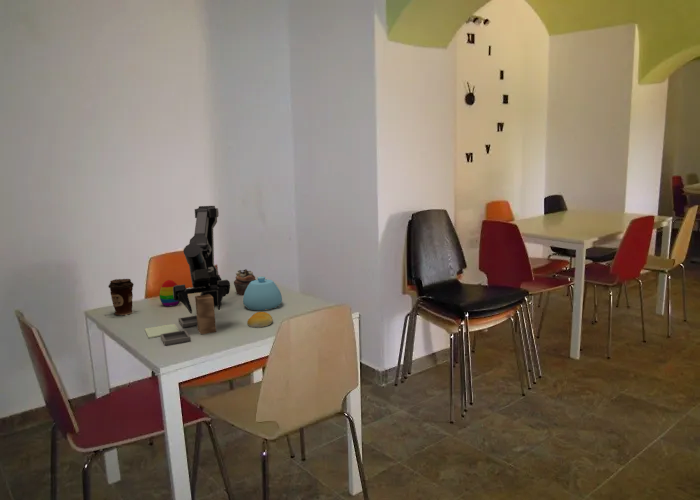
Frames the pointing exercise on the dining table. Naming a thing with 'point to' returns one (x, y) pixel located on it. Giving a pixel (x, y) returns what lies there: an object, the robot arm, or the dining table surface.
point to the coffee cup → (121, 296)
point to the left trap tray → (175, 337)
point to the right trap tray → (188, 321)
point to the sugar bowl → (262, 295)
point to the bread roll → (260, 319)
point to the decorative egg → (168, 293)
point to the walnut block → (205, 314)
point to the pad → (160, 330)
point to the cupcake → (243, 281)
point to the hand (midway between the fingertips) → (205, 311)
